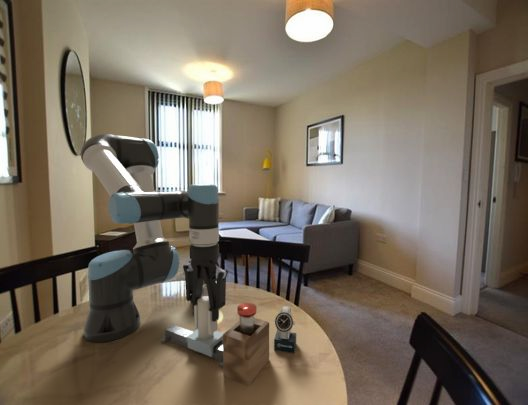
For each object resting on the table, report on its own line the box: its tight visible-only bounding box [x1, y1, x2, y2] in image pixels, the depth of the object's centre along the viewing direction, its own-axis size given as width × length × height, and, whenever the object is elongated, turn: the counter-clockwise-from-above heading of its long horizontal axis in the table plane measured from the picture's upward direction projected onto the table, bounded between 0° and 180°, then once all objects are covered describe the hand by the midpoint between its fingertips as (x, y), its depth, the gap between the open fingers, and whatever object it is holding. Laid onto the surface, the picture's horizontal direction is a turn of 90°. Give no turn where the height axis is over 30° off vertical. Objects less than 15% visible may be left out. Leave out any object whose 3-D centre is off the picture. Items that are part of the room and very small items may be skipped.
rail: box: [160, 324, 223, 368], centre depth 72 cm, size 22×6×3 cm, turn 62°
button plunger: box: [237, 302, 257, 336], centre depth 64 cm, size 5×5×6 cm
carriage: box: [187, 296, 225, 358], centre depth 70 cm, size 8×6×13 cm
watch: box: [273, 305, 297, 354], centre depth 72 cm, size 6×8×11 cm
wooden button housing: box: [222, 317, 270, 387], centre depth 64 cm, size 7×10×10 cm
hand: (205, 329), depth 70 cm, fingers closed on carriage, 4 cm apart
